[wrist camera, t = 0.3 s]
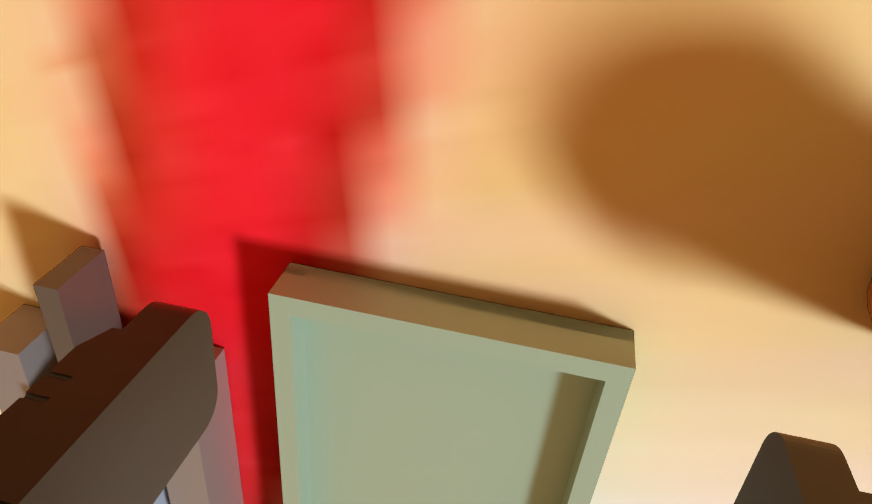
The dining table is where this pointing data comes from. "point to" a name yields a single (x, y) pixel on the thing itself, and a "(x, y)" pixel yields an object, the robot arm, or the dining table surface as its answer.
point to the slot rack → (204, 465)
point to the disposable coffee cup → (870, 299)
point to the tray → (437, 395)
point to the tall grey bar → (80, 305)
